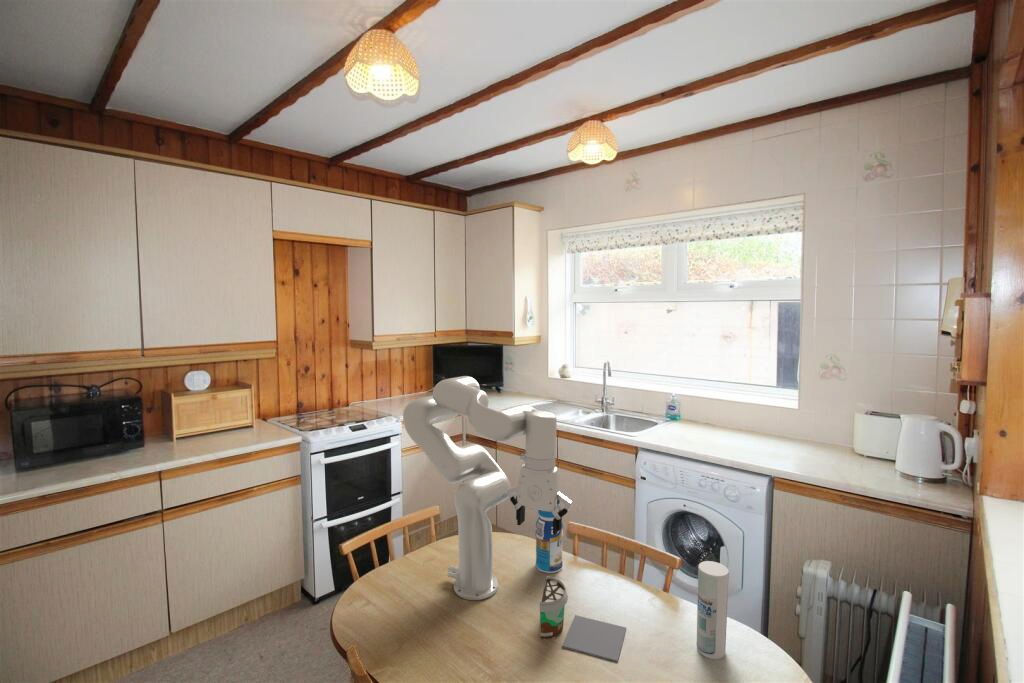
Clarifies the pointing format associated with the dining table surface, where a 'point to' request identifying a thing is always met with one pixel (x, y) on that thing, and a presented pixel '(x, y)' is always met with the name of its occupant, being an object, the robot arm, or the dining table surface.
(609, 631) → the mat
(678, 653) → the dining table surface
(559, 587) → the food container
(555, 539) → the beverage bottle
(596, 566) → the dining table surface
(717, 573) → the spray can
